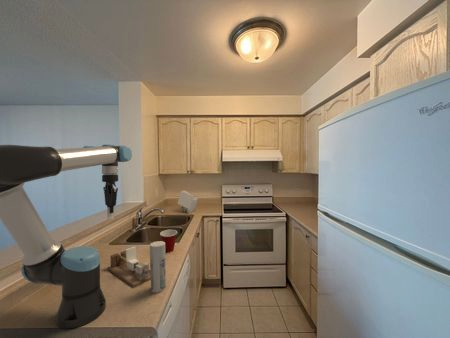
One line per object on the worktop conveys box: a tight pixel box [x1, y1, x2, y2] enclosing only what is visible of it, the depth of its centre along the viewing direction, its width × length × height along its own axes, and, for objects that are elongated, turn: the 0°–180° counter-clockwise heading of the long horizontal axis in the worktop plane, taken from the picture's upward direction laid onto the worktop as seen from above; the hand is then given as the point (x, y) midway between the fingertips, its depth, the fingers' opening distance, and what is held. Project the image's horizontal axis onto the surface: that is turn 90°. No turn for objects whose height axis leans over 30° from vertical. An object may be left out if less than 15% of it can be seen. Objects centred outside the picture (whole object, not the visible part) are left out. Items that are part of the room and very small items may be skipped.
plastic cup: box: [159, 229, 178, 253], centre depth 134 cm, size 11×11×12 cm
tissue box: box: [177, 189, 199, 214], centre depth 247 cm, size 20×16×25 cm
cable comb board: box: [107, 250, 151, 288], centre depth 106 cm, size 12×28×7 cm, turn 52°
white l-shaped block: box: [125, 245, 140, 271], centre depth 105 cm, size 5×5×10 cm
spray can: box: [149, 240, 167, 294], centre depth 92 cm, size 6×6×20 cm
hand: (110, 219), depth 110 cm, fingers closed
